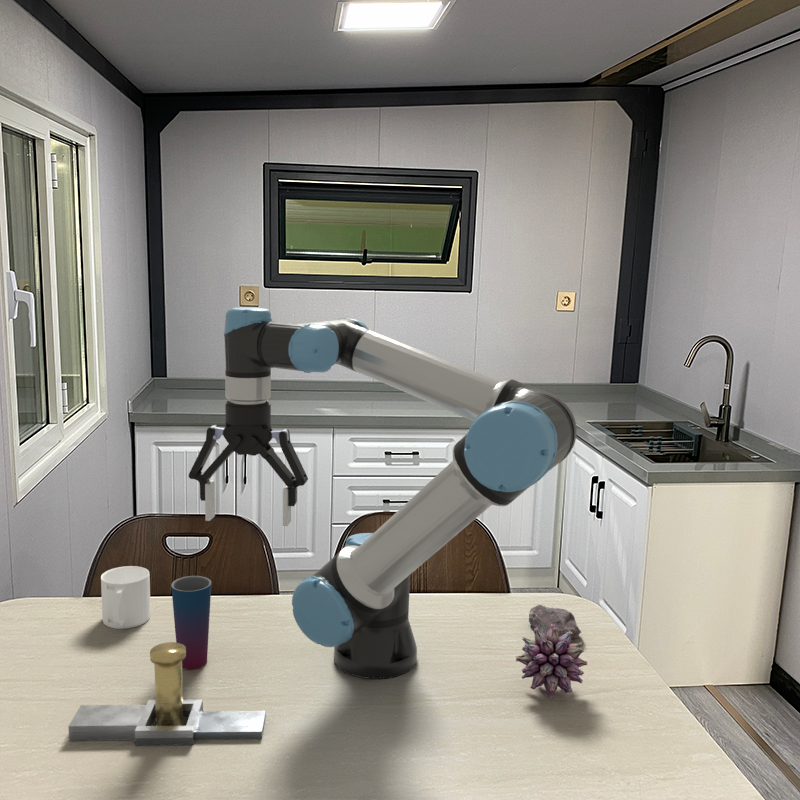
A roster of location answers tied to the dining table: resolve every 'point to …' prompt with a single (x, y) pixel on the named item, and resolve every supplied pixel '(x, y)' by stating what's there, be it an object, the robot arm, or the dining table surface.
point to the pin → (168, 683)
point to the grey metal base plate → (139, 720)
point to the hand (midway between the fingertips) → (248, 521)
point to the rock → (553, 620)
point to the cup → (192, 618)
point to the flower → (552, 661)
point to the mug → (125, 597)
